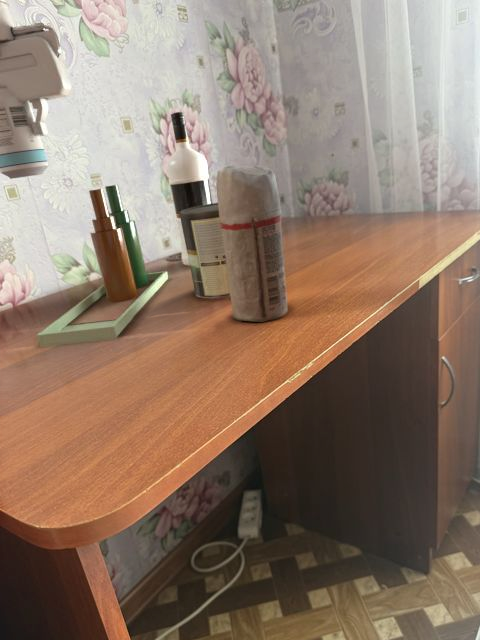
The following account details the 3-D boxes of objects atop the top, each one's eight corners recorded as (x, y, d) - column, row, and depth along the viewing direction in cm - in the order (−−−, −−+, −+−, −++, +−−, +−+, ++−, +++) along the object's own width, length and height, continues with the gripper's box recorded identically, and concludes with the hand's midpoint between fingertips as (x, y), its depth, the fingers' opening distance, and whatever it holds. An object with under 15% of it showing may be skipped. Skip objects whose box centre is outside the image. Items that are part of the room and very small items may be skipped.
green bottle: (118, 292, 93) (91, 188, 86) (126, 284, 97) (102, 186, 90) (145, 288, 92) (120, 184, 85) (152, 281, 97) (130, 182, 90)
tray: (40, 348, 70) (36, 335, 69) (114, 287, 99) (111, 277, 98) (117, 339, 69) (113, 326, 68) (169, 280, 98) (166, 271, 97)
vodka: (196, 270, 103) (166, 111, 92) (175, 265, 110) (145, 117, 99) (233, 259, 108) (209, 107, 96) (211, 256, 115) (186, 113, 103)
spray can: (262, 302, 76) (242, 163, 68) (302, 308, 70) (286, 158, 63) (220, 319, 71) (194, 171, 63) (260, 328, 65) (237, 167, 58)
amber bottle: (103, 304, 86) (74, 193, 79) (114, 295, 90) (86, 190, 83) (133, 301, 85) (105, 188, 78) (141, 292, 90) (116, 185, 83)
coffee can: (182, 299, 83) (164, 214, 78) (221, 282, 91) (207, 202, 86) (229, 303, 77) (214, 211, 72) (267, 284, 85) (255, 199, 80)
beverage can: (51, 172, 81) (27, 90, 76) (49, 172, 74) (23, 82, 70) (6, 179, 79) (-21, 95, 74) (-1, 180, 73) (-31, 88, 68)
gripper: (62, 24, 71) (89, 129, 76) (-70, 50, 73) (-35, 150, 79) (42, 14, 65) (73, 128, 71) (-100, 42, 68) (-61, 150, 73)
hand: (15, 140), depth 75 cm, fingers closed on beverage can, 7 cm apart
